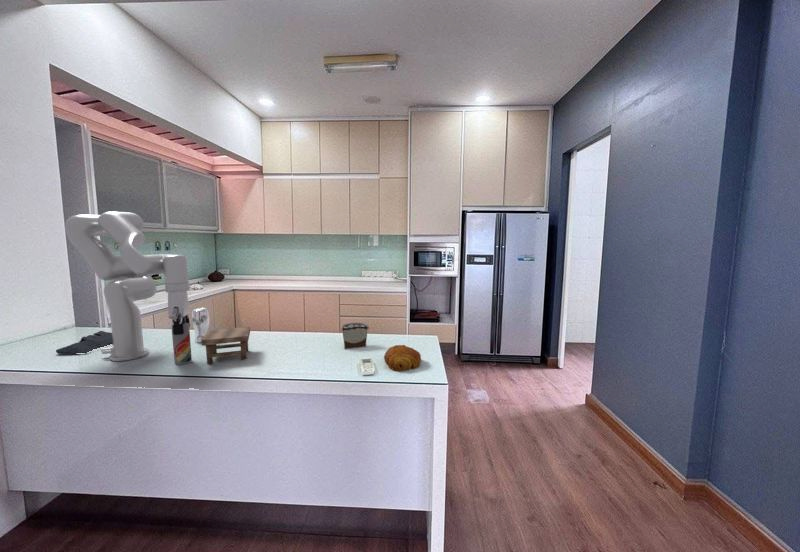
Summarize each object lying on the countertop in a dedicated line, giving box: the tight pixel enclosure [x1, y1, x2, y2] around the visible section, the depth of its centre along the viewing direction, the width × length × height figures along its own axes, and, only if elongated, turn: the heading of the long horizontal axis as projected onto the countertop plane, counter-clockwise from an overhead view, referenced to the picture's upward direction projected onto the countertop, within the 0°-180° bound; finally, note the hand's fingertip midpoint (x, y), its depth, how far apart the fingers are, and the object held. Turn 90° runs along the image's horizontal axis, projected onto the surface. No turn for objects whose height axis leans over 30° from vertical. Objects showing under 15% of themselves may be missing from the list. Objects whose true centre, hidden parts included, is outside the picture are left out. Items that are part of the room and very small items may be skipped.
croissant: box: [383, 344, 422, 372], centre depth 130 cm, size 14×16×8 cm
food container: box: [340, 322, 370, 350], centre depth 151 cm, size 12×6×10 cm, turn 108°
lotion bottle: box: [171, 317, 193, 365], centre depth 130 cm, size 6×6×20 cm
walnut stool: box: [201, 326, 251, 365], centre depth 136 cm, size 16×14×10 cm
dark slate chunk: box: [55, 330, 113, 355], centre depth 148 cm, size 15×22×5 cm
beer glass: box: [191, 307, 210, 344], centre depth 156 cm, size 7×7×15 cm
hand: (182, 331), depth 130 cm, fingers open, 9 cm apart
